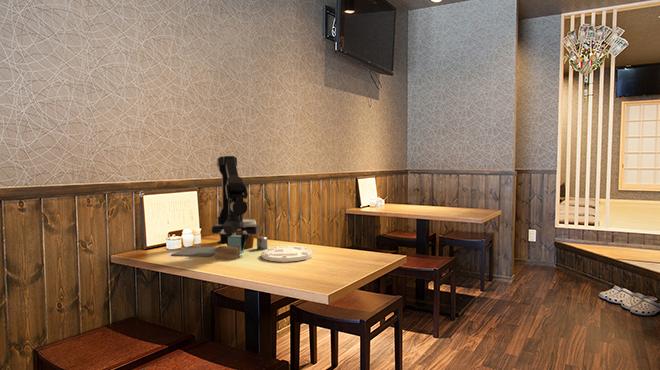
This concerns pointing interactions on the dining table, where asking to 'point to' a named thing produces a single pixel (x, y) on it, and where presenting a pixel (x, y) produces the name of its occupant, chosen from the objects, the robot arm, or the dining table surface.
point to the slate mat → (196, 251)
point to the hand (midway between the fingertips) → (236, 250)
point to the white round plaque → (286, 253)
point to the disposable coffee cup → (251, 237)
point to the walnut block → (227, 252)
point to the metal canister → (261, 243)
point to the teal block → (236, 242)
